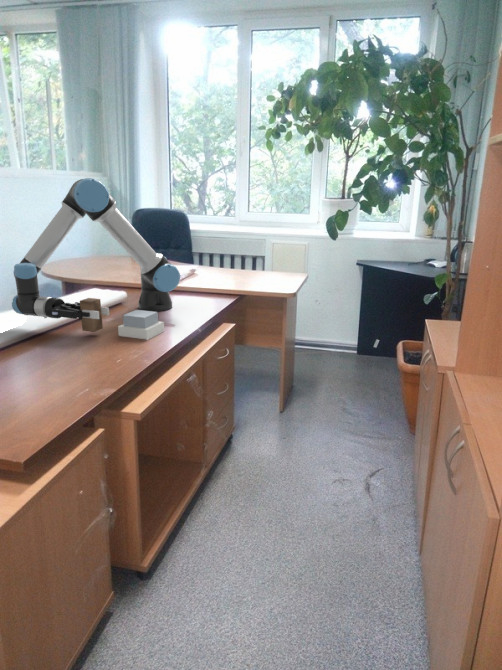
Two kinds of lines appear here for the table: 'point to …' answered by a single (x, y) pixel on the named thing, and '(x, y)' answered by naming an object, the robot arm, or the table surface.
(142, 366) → the table surface
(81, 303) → the walnut block
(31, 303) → the robot arm
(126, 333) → the tower base
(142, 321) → the tower top
